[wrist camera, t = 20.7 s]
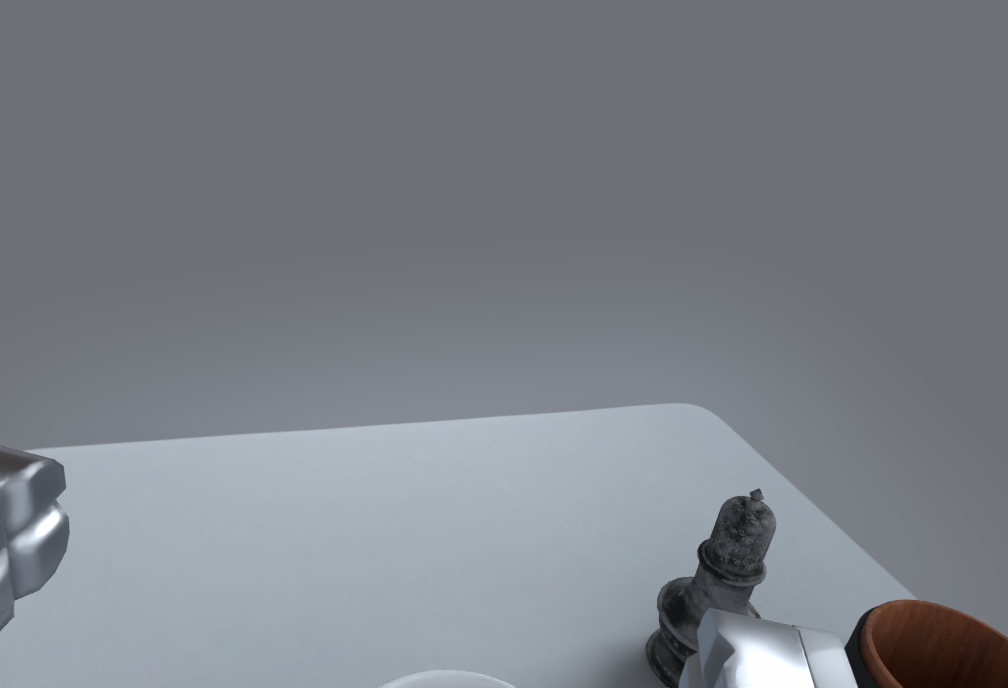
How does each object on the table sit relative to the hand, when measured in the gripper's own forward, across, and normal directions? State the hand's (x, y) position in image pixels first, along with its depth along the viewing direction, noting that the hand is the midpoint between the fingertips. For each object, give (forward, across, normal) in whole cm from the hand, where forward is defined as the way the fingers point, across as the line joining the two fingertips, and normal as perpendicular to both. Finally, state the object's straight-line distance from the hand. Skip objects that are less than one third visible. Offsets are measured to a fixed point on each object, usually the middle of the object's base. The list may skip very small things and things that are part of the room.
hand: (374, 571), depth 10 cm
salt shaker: (+26, -14, +26) cm, 40 cm away
